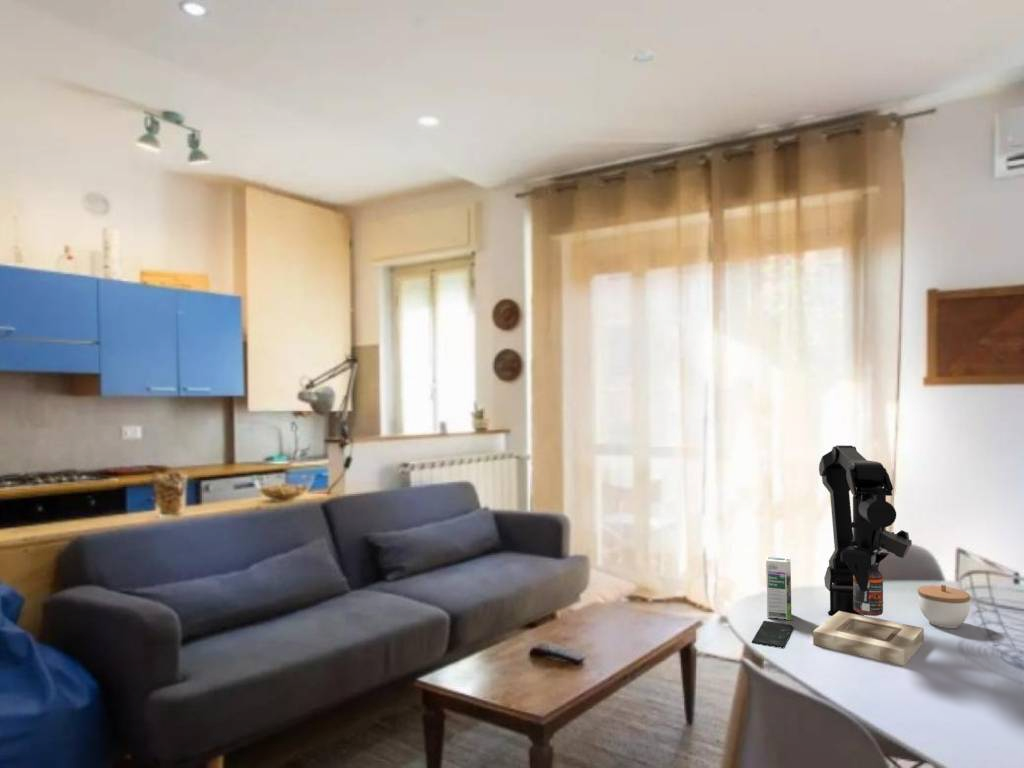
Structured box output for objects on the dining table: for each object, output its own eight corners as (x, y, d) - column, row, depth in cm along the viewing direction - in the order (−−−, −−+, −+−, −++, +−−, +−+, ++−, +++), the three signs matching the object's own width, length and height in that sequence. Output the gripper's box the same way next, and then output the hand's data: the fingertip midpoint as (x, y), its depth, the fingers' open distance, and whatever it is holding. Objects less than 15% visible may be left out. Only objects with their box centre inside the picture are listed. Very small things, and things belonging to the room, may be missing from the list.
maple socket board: (813, 644, 152) (813, 630, 152) (839, 623, 165) (838, 610, 165) (903, 665, 140) (903, 651, 140) (924, 641, 153) (923, 627, 153)
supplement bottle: (872, 618, 149) (871, 566, 149) (847, 610, 154) (846, 560, 154) (889, 614, 151) (888, 563, 151) (864, 606, 157) (864, 557, 157)
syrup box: (766, 618, 169) (765, 560, 169) (767, 611, 175) (766, 554, 175) (791, 621, 167) (790, 562, 167) (791, 613, 173) (790, 556, 173)
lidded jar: (917, 613, 171) (917, 576, 171) (968, 620, 166) (968, 582, 166) (918, 626, 162) (917, 587, 162) (972, 634, 157) (971, 594, 157)
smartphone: (751, 641, 153) (763, 620, 166) (751, 645, 153) (763, 624, 166) (783, 646, 150) (793, 624, 163) (783, 651, 150) (793, 628, 163)
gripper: (896, 530, 140) (897, 605, 140) (917, 516, 154) (918, 585, 154) (839, 523, 148) (840, 595, 148) (864, 510, 162) (865, 576, 162)
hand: (868, 587), depth 153 cm, fingers closed on supplement bottle, 6 cm apart
